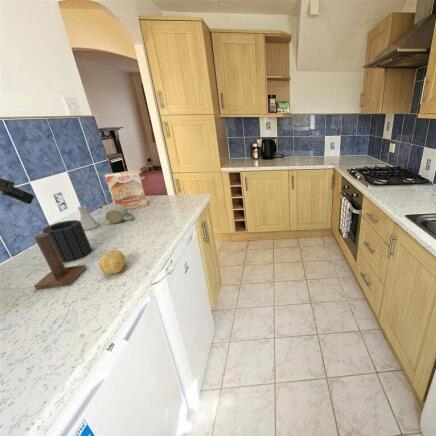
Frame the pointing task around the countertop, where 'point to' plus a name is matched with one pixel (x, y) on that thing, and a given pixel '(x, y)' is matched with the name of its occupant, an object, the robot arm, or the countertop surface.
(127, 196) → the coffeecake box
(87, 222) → the flask
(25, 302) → the countertop surface
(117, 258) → the potato
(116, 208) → the ceramic mug
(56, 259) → the peg
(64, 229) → the tape roll
